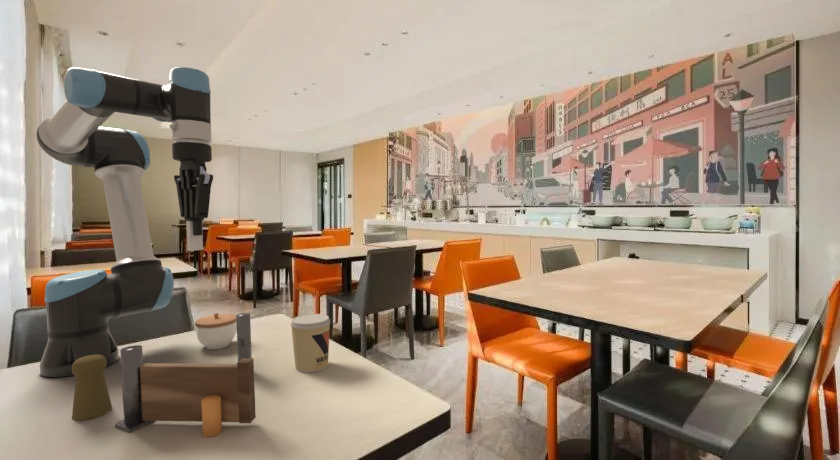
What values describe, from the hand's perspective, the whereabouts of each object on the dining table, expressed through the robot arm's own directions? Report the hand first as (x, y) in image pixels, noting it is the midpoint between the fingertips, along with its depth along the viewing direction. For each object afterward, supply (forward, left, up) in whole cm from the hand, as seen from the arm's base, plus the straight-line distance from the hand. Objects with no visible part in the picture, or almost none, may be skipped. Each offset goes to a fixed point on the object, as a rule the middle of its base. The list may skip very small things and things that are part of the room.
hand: (195, 249), depth 90 cm
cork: (-6, -18, -30) cm, 36 cm away
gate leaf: (+17, -13, -29) cm, 36 cm away
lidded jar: (-17, +18, -30) cm, 39 cm away
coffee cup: (+18, +17, -30) cm, 39 cm away
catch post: (+21, -13, -30) cm, 39 cm away
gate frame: (+6, -5, -30) cm, 31 cm away
